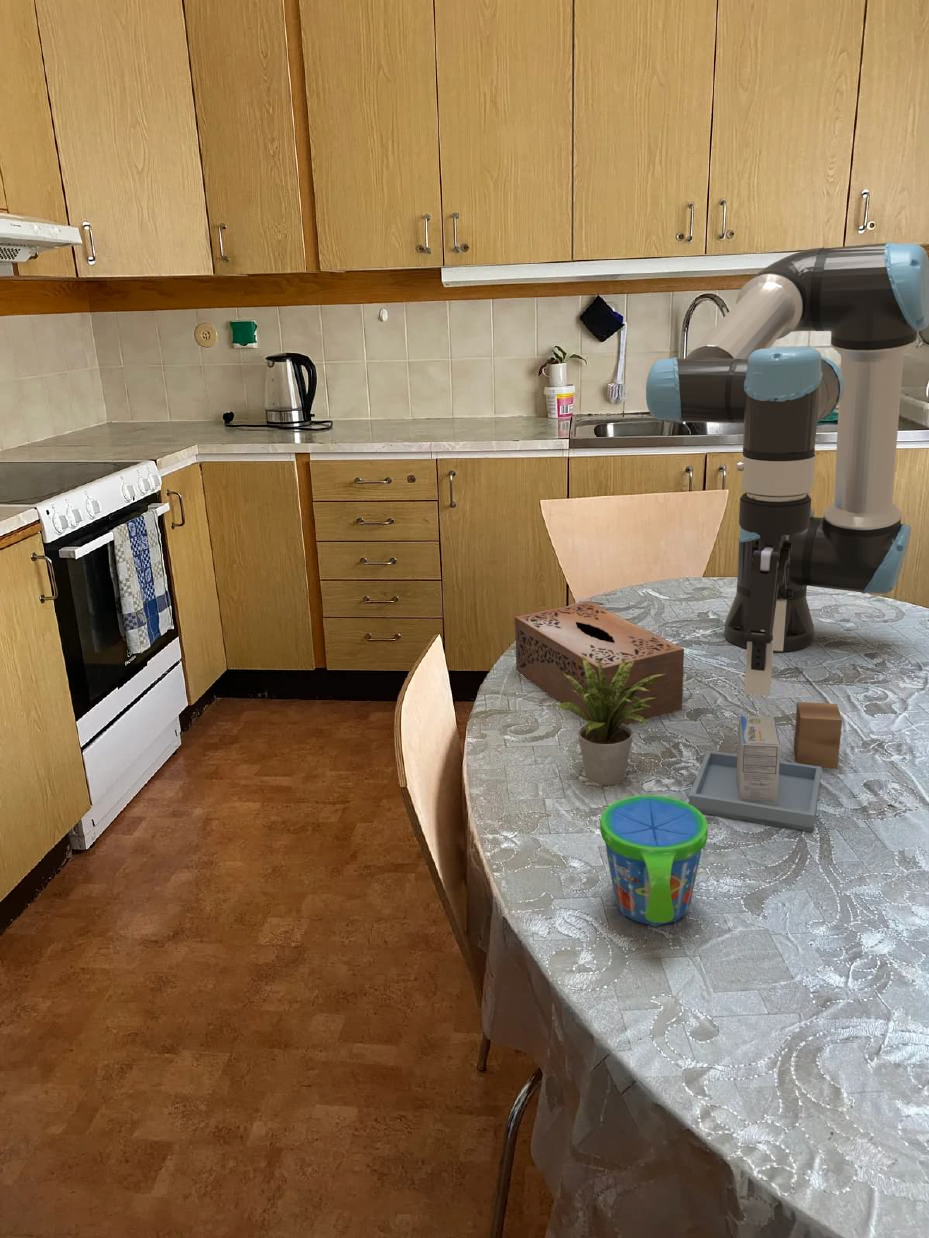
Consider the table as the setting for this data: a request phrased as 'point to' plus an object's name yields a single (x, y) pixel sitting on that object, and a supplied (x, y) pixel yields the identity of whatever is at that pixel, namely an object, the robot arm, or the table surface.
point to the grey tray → (721, 798)
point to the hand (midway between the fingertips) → (764, 670)
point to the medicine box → (758, 760)
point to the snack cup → (653, 855)
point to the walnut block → (817, 734)
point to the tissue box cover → (597, 656)
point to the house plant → (607, 722)
